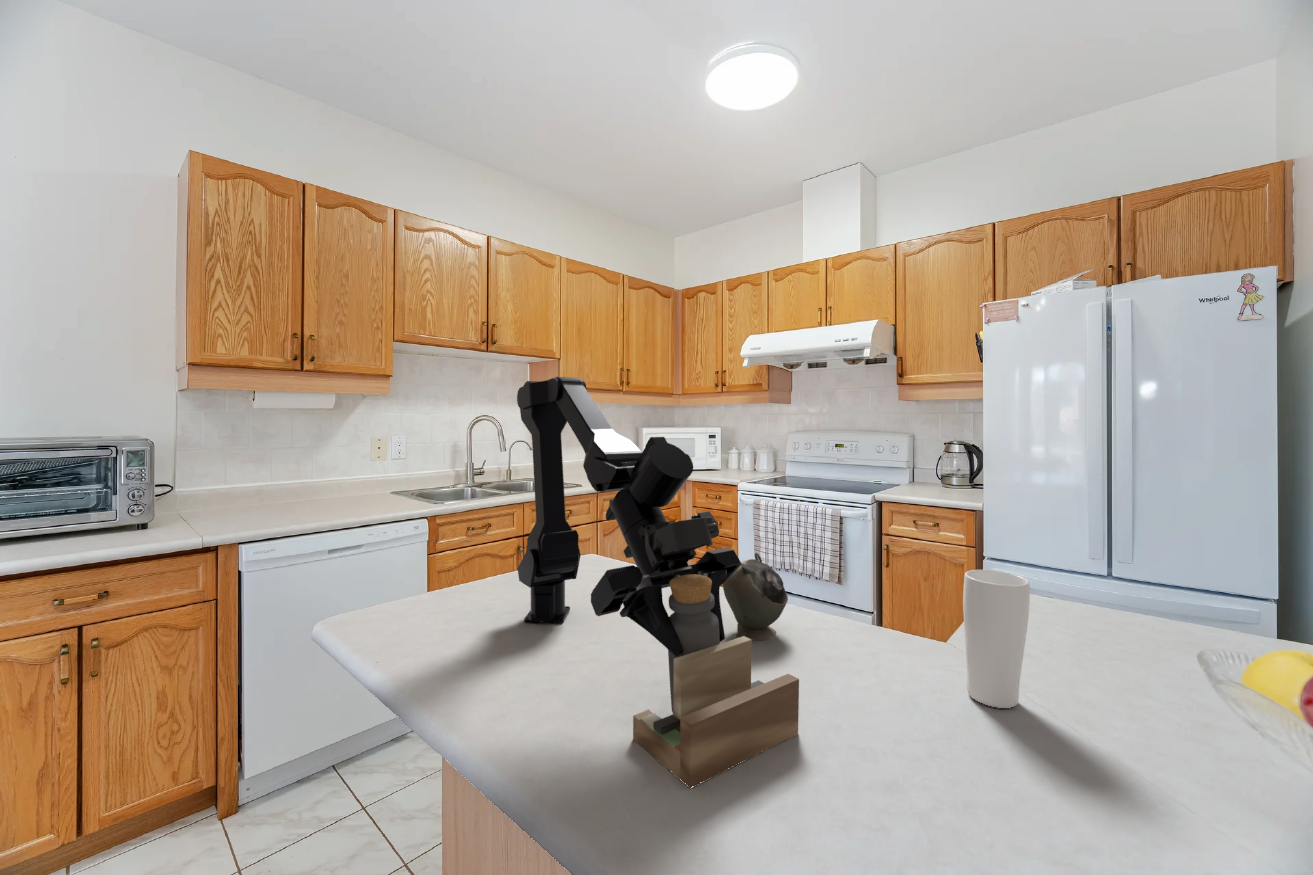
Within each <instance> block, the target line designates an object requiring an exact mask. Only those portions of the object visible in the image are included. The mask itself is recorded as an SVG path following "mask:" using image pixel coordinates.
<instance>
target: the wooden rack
mask: <svg viewBox="0 0 1313 875" xmlns="http://www.w3.org/2000/svg"><path fill="white" fill-rule="evenodd" d="M763 683H764V684H762V685H759V686H757V687H754V688H752V689H749V690H747V691H744V692H742V693H739V694H737V695H735V696H732V697H730V698H727V699H725V700H722V701H720V702H717V703H715V704H712V705H710V706H707V707H705V708H703V709H700V710H698V711H695V712H693V713H690V714H688V715H685V716H683V717H681V733H680V732H679V731H677V730H676V729H675V728H673V729H671V730H668V731H666V732H664V733H661V734H660V733H659V732H658V731H656V730H655V729H654V728H653V722H655V721H658V720H660V719H663V717H662V718H661V716H660V715H658V714H656V713H655V712H653V711H652V710H650V709H646V710H643V711H642V712H639V713H636V714H634V715H633V716H632V717H633V718H632V719H633V720H632V726H633V727H632V739H633V740H634V741H635V742H637V743H638V744H639V746H641V747H642V748H643V749H644V750H646V752H647V753H649V754H650V755H651V756H652V757H653V758H654V759H655V760H657V761H658V762H659V763H660V764H661V765H662V766H664V767H665V768H666V769H667V768H668V769H669V770H670V771H669V770H668V769H667V770H668V771H669V772H671V771H672V772H673V773H674V774H675V775H676V776H677V777H678V778H677V777H676V776H675V775H674V774H673V773H672V772H671V773H672V774H673V775H674V776H675V777H676V778H677V779H679V780H680V779H681V780H682V781H683V782H684V783H686V784H687V785H688V786H689V787H690V788H691V787H692V786H695V785H697V784H699V785H701V784H700V782H703V781H705V782H707V781H708V780H707V779H709V778H711V777H712V778H714V777H716V776H718V775H720V774H722V773H724V772H726V771H728V770H729V769H728V768H730V769H732V768H733V767H732V766H734V767H736V766H737V765H736V764H738V763H740V762H742V761H744V760H746V761H747V760H749V759H748V758H750V759H752V758H754V757H755V756H757V755H759V754H761V753H763V752H765V751H767V750H769V749H771V748H773V747H775V746H778V745H779V744H780V742H781V743H783V742H784V740H785V741H786V740H789V739H791V738H792V737H795V736H797V735H798V734H799V711H800V710H799V709H800V708H799V706H800V705H799V704H800V699H799V698H800V689H799V688H800V679H799V678H798V677H796V676H794V675H792V674H790V673H787V674H784V675H782V676H779V677H777V678H774V679H772V680H769V681H767V682H763ZM788 738H789V739H788ZM778 743H779V744H778ZM762 751H763V752H762ZM758 753H759V754H758ZM756 754H757V755H756ZM754 755H755V756H754ZM753 756H754V757H753ZM751 757H752V758H751ZM744 762H745V761H744ZM742 763H743V762H742ZM740 764H741V763H740ZM735 765H736V766H735ZM738 765H739V764H738ZM731 767H732V768H731ZM727 769H728V770H727ZM725 770H726V771H725ZM723 771H724V772H723ZM721 772H722V773H721ZM719 773H720V774H719ZM717 774H718V775H717ZM715 775H716V776H715ZM713 776H714V777H713ZM712 778H711V779H712ZM681 780H680V781H681ZM706 780H707V781H706ZM709 780H710V779H709ZM682 781H681V782H682ZM683 782H682V783H683ZM684 783H683V784H684ZM703 783H704V782H703ZM688 786H687V787H688ZM697 786H698V785H697ZM689 787H688V788H689ZM695 787H696V786H695ZM690 788H689V789H690ZM691 789H692V788H691Z"/></svg>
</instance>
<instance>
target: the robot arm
mask: <svg viewBox="0 0 1313 875" xmlns="http://www.w3.org/2000/svg"><path fill="white" fill-rule="evenodd" d="M516 394H517V396H516V403H517V406H518V408H519V413H520V419H521V421H522V423H523V424H524V426H525V427H526V428H527V430H528V432H529V433H530V435H531V445H532V461H533V462H532V463H533V464H532V465H533V481H534V484H533V486H534V500H535V502H534V504H535V506H534V507H535V524H534V525H533V527H532V529H531V531H530V533H529V534H528V536H527V538H526V551H525V553H524V555H523V557H522V559H521V561H520V563H519V565H518V567H517V573H518V575H517V576H518V581H519V582H521V583H522V584H524V585H525V586H527V587H528V588H529V589H530V609H529V612H528V613H527V614H526V616H525V617H524V618H523V621H524V623H555V624H556V623H557V624H561V623H564V622H565V620H566V618H567V616H568V614H569V613H570V611H571V606H567V605H566V581H569V580H576V579H577V576H578V573H579V572H578V571H579V565H580V561H581V551H580V546H579V537H580V536H579V533H578V530H576V529H573V528H572V527H571V525H570V524H569V522H568V521H567V518H566V499H565V483H564V481H565V479H564V462H563V445H562V444H563V442H562V433H563V431H564V428H565V427H566V425H567V423H568V425H569V427H570V429H571V431H572V432H573V434H574V435H575V437H576V439H577V440H578V442H579V444H580V446H581V447H582V449H583V451H584V454H585V456H584V460H583V463H582V464H583V465H582V466H583V469H584V472H585V474H586V477H587V478H586V479H587V480H588V482H589V484H590V486H591V487H592V488H593V490H594V491H596V492H597V493H606V492H617V493H616V494H615V495H614V496H613V499H610V500H609V502H608V503H609V504H608V507H607V510H606V511H605V519H606V521H616V523H617V525H618V527H619V530H620V531H621V534H622V536H623V538H624V541H625V543H626V547H625V548H624V550H623V554H624V556H625V559H629V558H632V559H633V561H634V563H635V565H636V566H635V565H627V566H622V567H617V568H611V569H607V570H606V571H605V572H604V574H603V575H602V576H601V578H600V579H599V580H598V582H597V584H596V585H595V586H594V588H593V589H592V591H591V593H590V603H591V606H592V609H593V611H594V614H595V616H597V617H601V616H604V615H608V614H614V613H618V612H619V611H620V612H619V615H620V617H621V618H628V619H630V620H631V621H633V622H634V623H635V624H637V625H638V626H639V627H641V628H643V629H644V630H645V631H646V632H647V633H649V634H650V635H651V636H652V637H653V638H654V639H656V640H657V641H658V642H659V643H660V644H661V645H662V646H663V647H664V648H666V649H667V651H668V650H669V651H670V652H672V653H673V654H674V655H675V656H679V655H681V654H682V652H683V650H682V647H681V644H680V641H679V638H678V636H677V633H676V631H675V629H674V627H673V625H672V622H671V620H670V618H669V616H670V615H669V614H668V612H667V610H666V606H664V602H663V589H666V588H670V584H669V583H670V581H671V580H672V579H673V578H675V577H678V576H681V575H689V574H696V575H703V576H706V577H709V578H710V579H711V580H712V585H711V592H710V593H712V594H713V596H714V600H715V605H714V607H713V608H712V609H711V610H710V611H711V612H713V613H714V614H715V615H716V616H717V618H718V621H719V635H720V643H723V642H724V640H725V638H726V637H725V636H726V635H725V634H726V633H725V630H724V629H725V628H724V622H723V616H722V609H721V608H722V607H721V602H720V601H721V599H720V587H721V586H723V583H724V582H725V581H726V580H727V579H728V578H729V577H730V576H731V575H732V574H733V573H734V572H735V571H736V570H737V569H738V568H739V567H740V566H741V565H742V564H741V562H742V561H741V560H740V558H739V557H738V555H737V553H736V552H735V550H734V549H731V548H729V547H723V548H717V549H713V550H712V549H711V550H707V551H705V553H704V554H703V555H702V556H701V557H700V558H699V560H697V562H696V563H695V564H690V565H689V563H688V562H689V561H691V560H693V559H694V558H695V557H696V555H697V552H696V550H697V549H700V548H702V547H711V546H713V544H714V543H713V540H712V539H714V538H717V537H719V534H720V529H719V525H718V522H717V520H716V519H715V517H714V515H713V514H712V513H711V512H710V511H703V512H702V511H701V512H698V513H697V514H693V515H691V518H690V519H689V518H688V519H684V520H678V521H675V520H670V521H669V520H668V521H667V518H666V517H665V514H664V512H663V511H662V508H664V507H665V506H668V505H670V504H671V502H672V501H673V500H674V498H675V496H676V495H677V494H678V493H679V491H681V489H682V487H683V486H684V485H685V483H686V482H687V480H688V479H689V477H690V476H691V475H692V473H693V472H694V462H693V460H692V458H691V456H690V454H688V453H686V452H685V451H683V449H681V448H680V447H678V446H676V444H675V445H674V444H673V443H671V442H670V443H669V442H667V439H666V438H665V436H649V439H648V441H647V442H646V444H645V448H644V449H643V451H642V450H641V449H640V448H639V447H638V446H637V445H636V444H635V443H634V442H633V441H632V440H631V439H629V438H627V437H625V436H623V435H621V434H619V433H617V432H616V431H615V430H614V429H613V428H612V426H611V424H610V423H609V422H608V421H607V419H606V417H605V416H604V414H603V413H602V411H601V409H600V408H599V407H598V406H597V404H596V402H595V400H594V399H593V398H592V396H591V395H590V393H589V392H588V390H587V384H586V382H585V380H584V379H581V378H580V377H573V376H572V377H569V376H555V377H552V378H550V379H547V380H540V381H539V380H537V381H535V380H534V381H532V380H527V381H525V382H524V384H523V386H521V387H519V388H518V391H517V393H516ZM622 605H623V608H622ZM621 608H622V609H621Z"/></svg>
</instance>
